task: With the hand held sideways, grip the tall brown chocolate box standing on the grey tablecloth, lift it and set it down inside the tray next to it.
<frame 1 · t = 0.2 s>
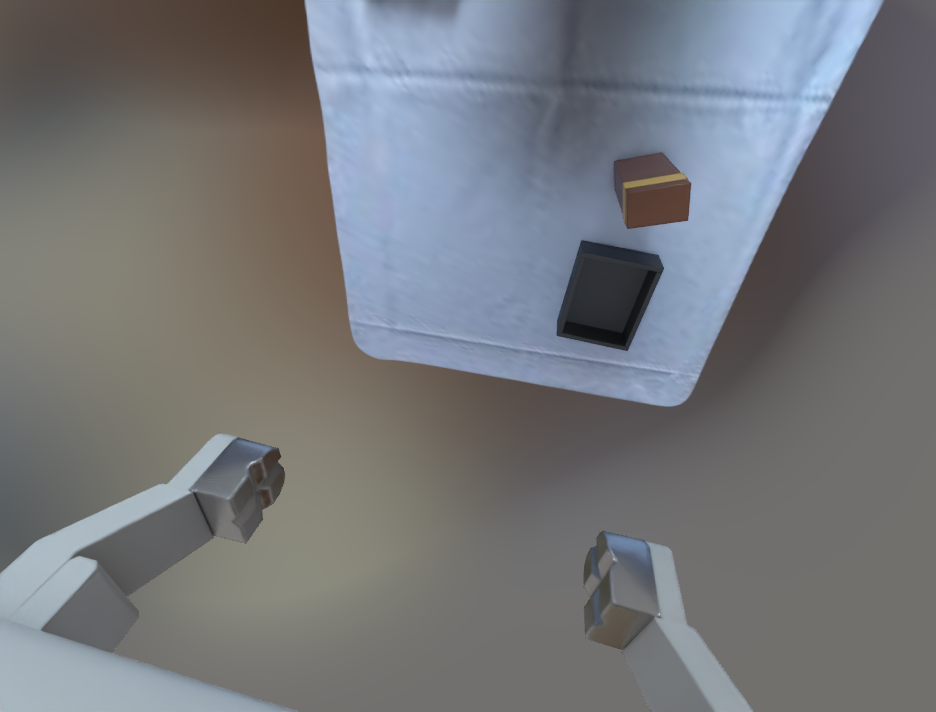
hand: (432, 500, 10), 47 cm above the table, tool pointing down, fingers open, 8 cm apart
chocolate box: (637, 171, 47), on the table
tray: (604, 290, 56), on the table
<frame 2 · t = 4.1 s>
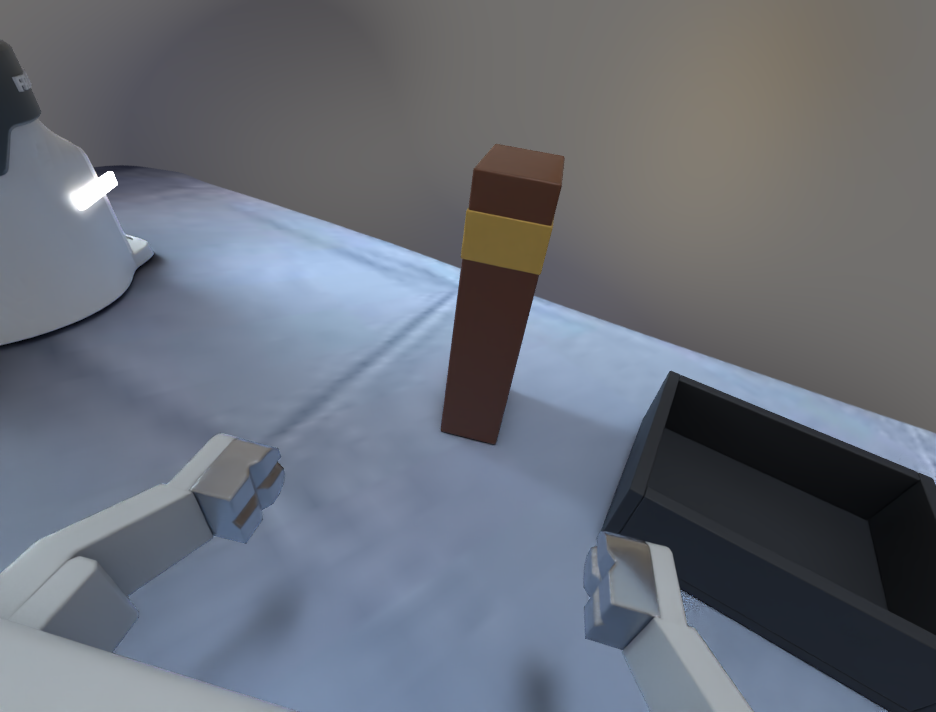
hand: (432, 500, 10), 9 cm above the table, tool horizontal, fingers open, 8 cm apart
chocolate box: (476, 408, 25), on the table
tray: (743, 532, 21), on the table
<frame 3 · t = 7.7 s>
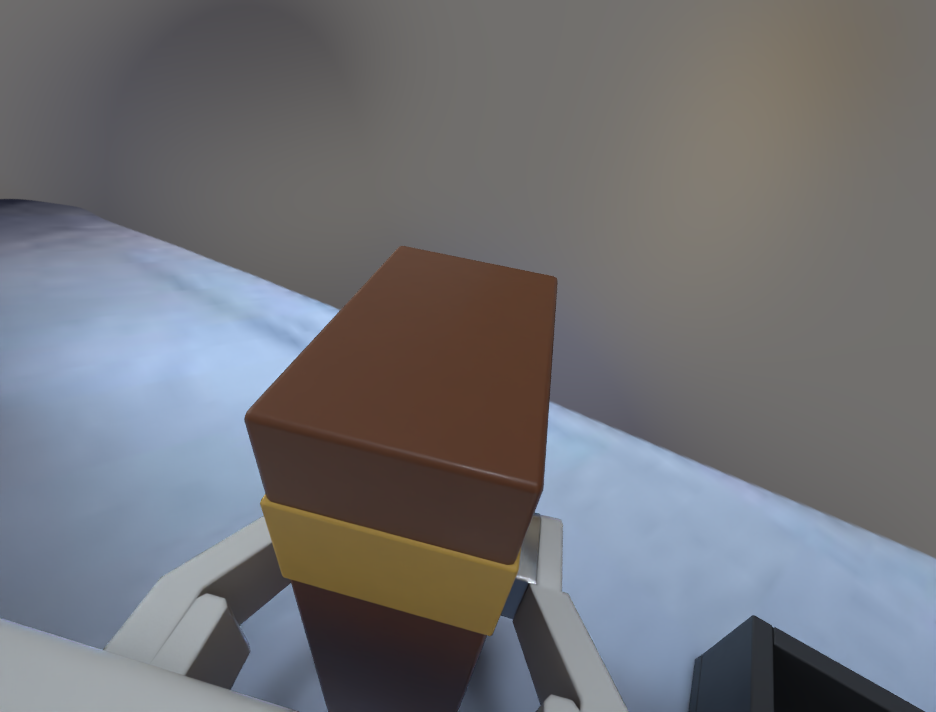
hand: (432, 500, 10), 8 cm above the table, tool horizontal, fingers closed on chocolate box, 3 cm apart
chocolate box: (410, 659, 14), on the table, touching gripper
when the fingers open (9 cm above the table, at t = 14.7 s): chocolate box stays where it is, resting on tray.
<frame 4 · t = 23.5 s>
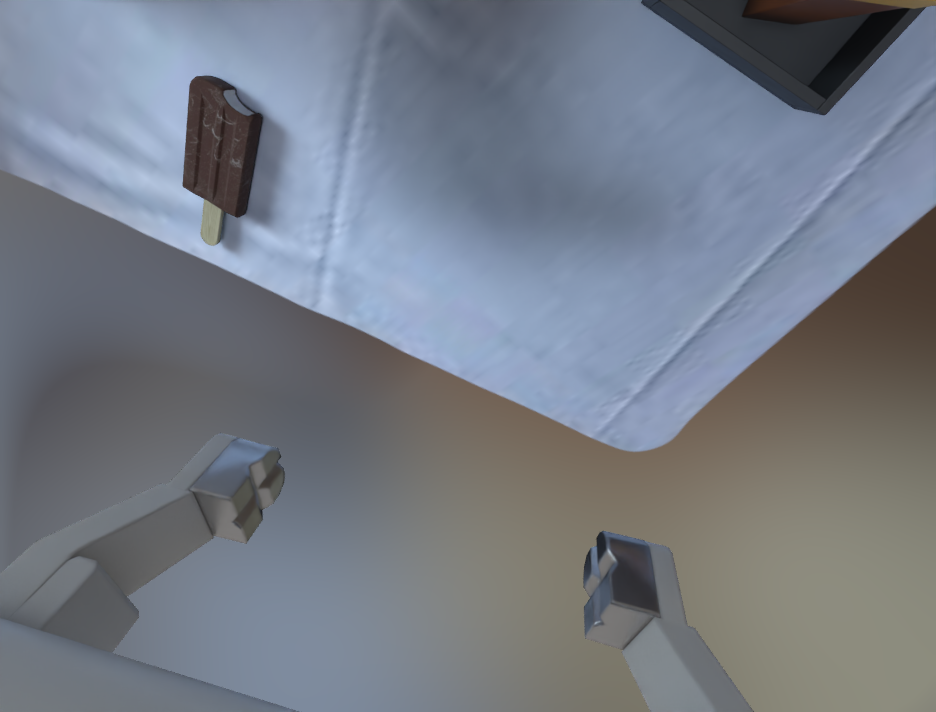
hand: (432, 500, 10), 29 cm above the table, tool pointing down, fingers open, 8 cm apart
ice cream bar: (225, 172, 38), on the table
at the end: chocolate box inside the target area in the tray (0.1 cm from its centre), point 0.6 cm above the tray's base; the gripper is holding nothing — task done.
